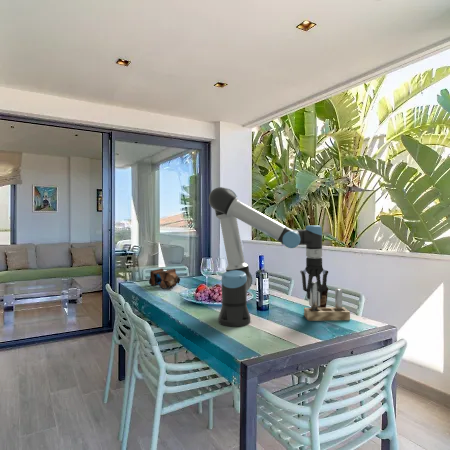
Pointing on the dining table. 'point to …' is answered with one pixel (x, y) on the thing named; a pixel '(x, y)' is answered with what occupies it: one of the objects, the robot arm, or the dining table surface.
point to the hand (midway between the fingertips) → (314, 305)
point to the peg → (314, 296)
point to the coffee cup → (323, 298)
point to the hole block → (326, 314)
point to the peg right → (338, 299)
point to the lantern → (164, 278)
